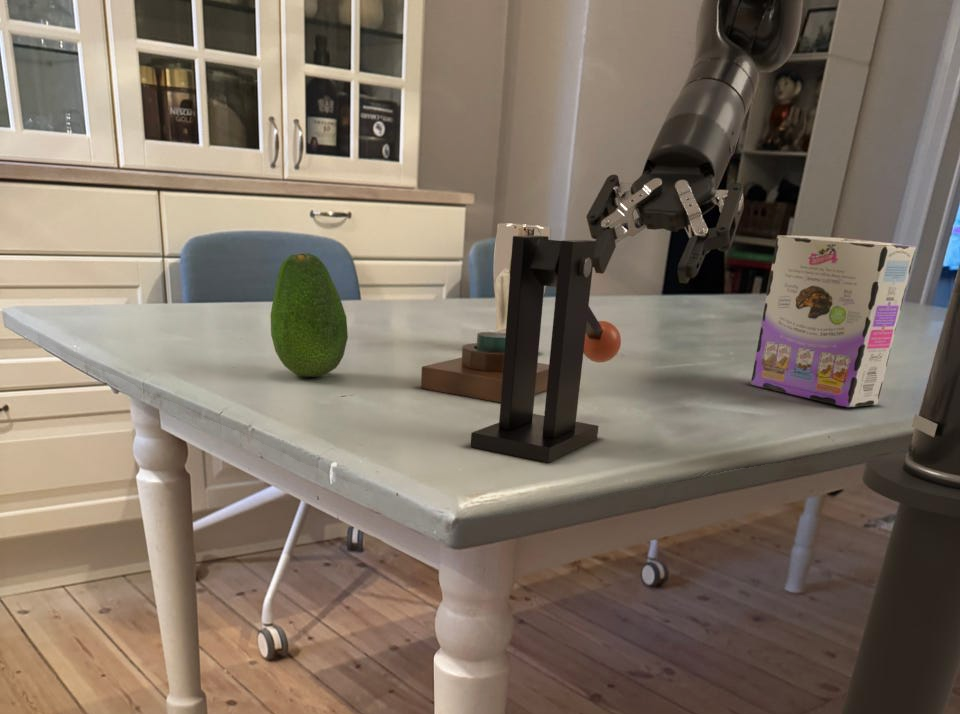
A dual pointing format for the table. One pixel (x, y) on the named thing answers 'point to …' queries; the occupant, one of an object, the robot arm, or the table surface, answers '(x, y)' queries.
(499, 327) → the beer glass
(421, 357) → the table surface
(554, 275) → the lever
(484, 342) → the button
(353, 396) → the table surface
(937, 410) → the robot arm
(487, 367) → the button block
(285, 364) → the avocado
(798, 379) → the candy box
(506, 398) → the bracket
